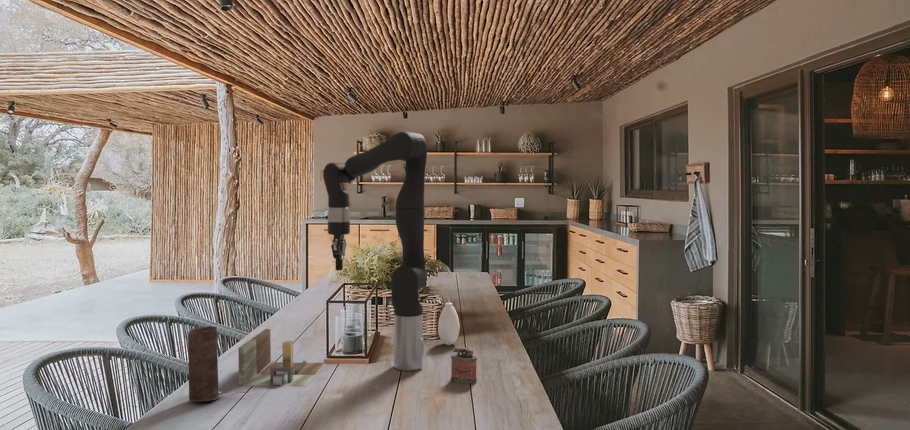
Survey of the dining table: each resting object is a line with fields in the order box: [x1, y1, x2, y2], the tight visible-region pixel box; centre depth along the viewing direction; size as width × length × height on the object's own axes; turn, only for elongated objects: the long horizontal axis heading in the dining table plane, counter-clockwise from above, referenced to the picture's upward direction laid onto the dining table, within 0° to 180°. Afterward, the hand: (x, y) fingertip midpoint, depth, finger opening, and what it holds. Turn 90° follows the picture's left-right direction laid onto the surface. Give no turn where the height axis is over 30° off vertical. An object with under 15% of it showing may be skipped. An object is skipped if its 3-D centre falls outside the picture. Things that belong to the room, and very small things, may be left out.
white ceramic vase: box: [437, 297, 461, 346], centre depth 214 cm, size 8×8×18 cm
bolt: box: [273, 340, 294, 385], centre depth 171 cm, size 2×11×10 cm, turn 179°
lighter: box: [450, 347, 478, 384], centre depth 174 cm, size 8×3×10 cm, turn 71°
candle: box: [187, 325, 220, 403], centre depth 156 cm, size 8×7×20 cm
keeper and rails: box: [269, 360, 307, 383], centre depth 177 cm, size 6×17×4 cm, turn 178°
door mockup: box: [238, 328, 325, 387], centre depth 176 cm, size 19×22×12 cm
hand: (339, 270), depth 203 cm, fingers closed
